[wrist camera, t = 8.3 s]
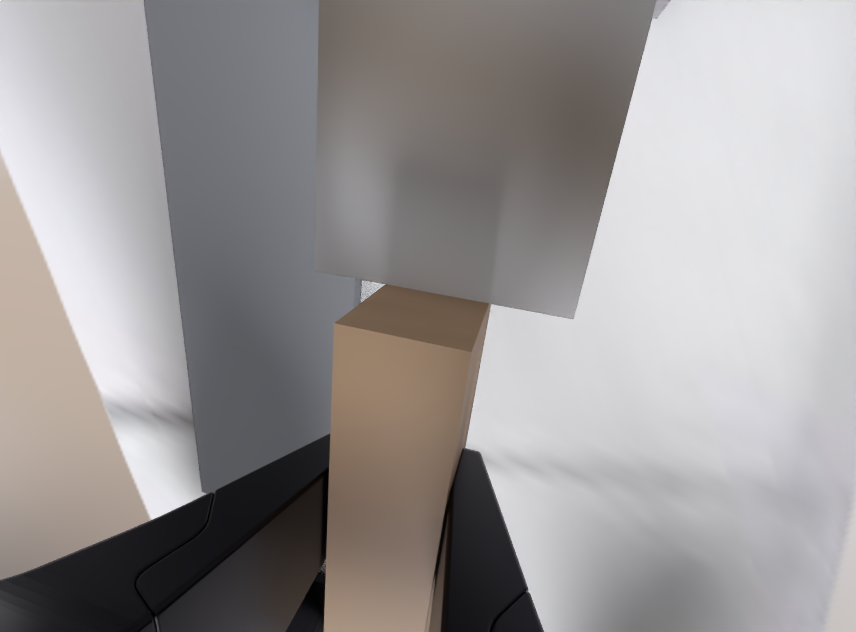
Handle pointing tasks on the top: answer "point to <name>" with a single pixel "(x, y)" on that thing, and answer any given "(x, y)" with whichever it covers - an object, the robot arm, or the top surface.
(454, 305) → the turner
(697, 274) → the top surface
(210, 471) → the mat
